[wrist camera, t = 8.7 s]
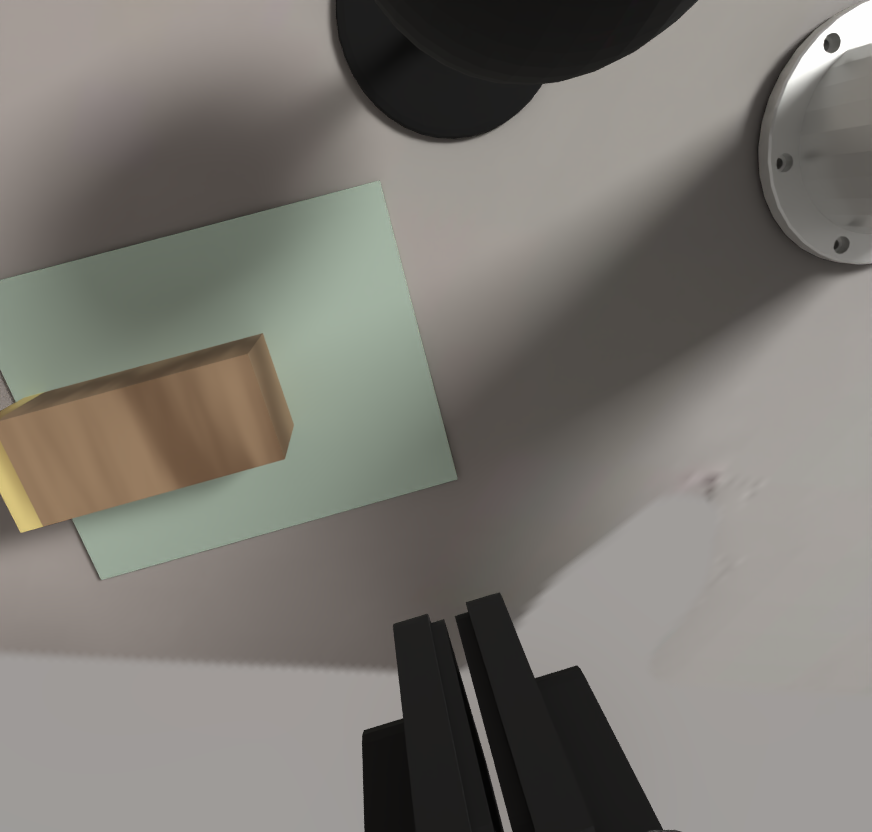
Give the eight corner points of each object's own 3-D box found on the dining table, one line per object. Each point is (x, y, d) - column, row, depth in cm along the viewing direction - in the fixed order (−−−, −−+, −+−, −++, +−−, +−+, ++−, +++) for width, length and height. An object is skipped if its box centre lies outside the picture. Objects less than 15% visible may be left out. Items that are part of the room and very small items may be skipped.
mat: (379, 180, 32) (379, 180, 31) (457, 477, 37) (457, 479, 36) (-35, 289, 31) (-38, 289, 30) (103, 577, 36) (101, 580, 36)
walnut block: (247, 353, 28) (-33, 429, 28) (285, 459, 30) (20, 532, 29) (262, 333, 33) (24, 397, 32) (294, 425, 34) (67, 487, 34)
